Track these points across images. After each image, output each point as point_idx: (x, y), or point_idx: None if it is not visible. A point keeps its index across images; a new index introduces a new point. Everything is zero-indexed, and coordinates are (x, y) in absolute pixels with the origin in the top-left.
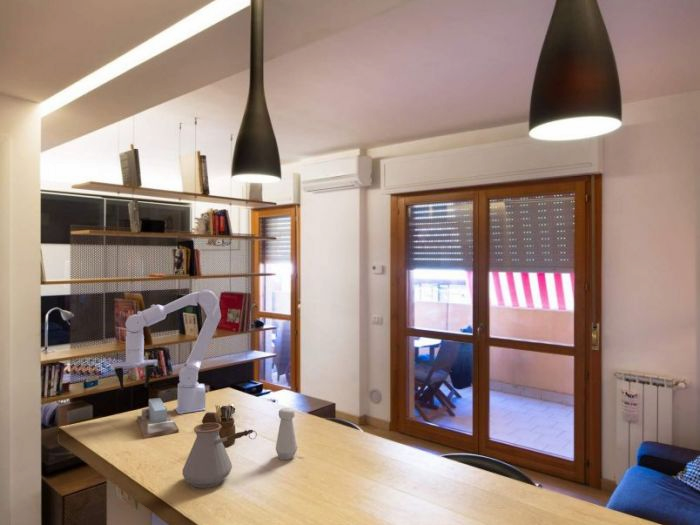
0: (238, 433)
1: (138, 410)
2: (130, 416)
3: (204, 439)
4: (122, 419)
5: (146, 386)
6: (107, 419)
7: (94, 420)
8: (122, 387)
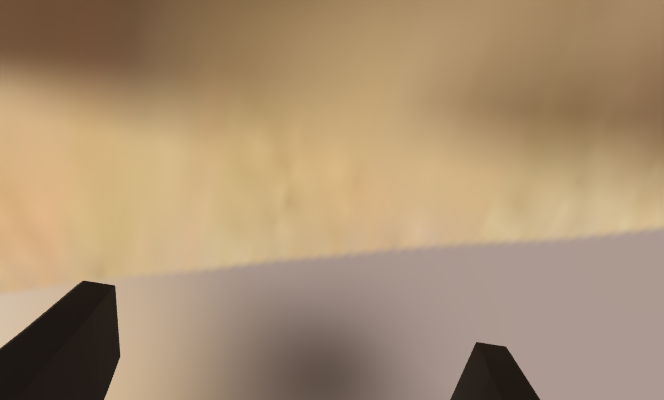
0: None
1: (250, 255)
2: (355, 136)
3: None
4: (447, 92)
5: (90, 294)
6: (547, 181)
7: (635, 222)
8: (507, 380)
